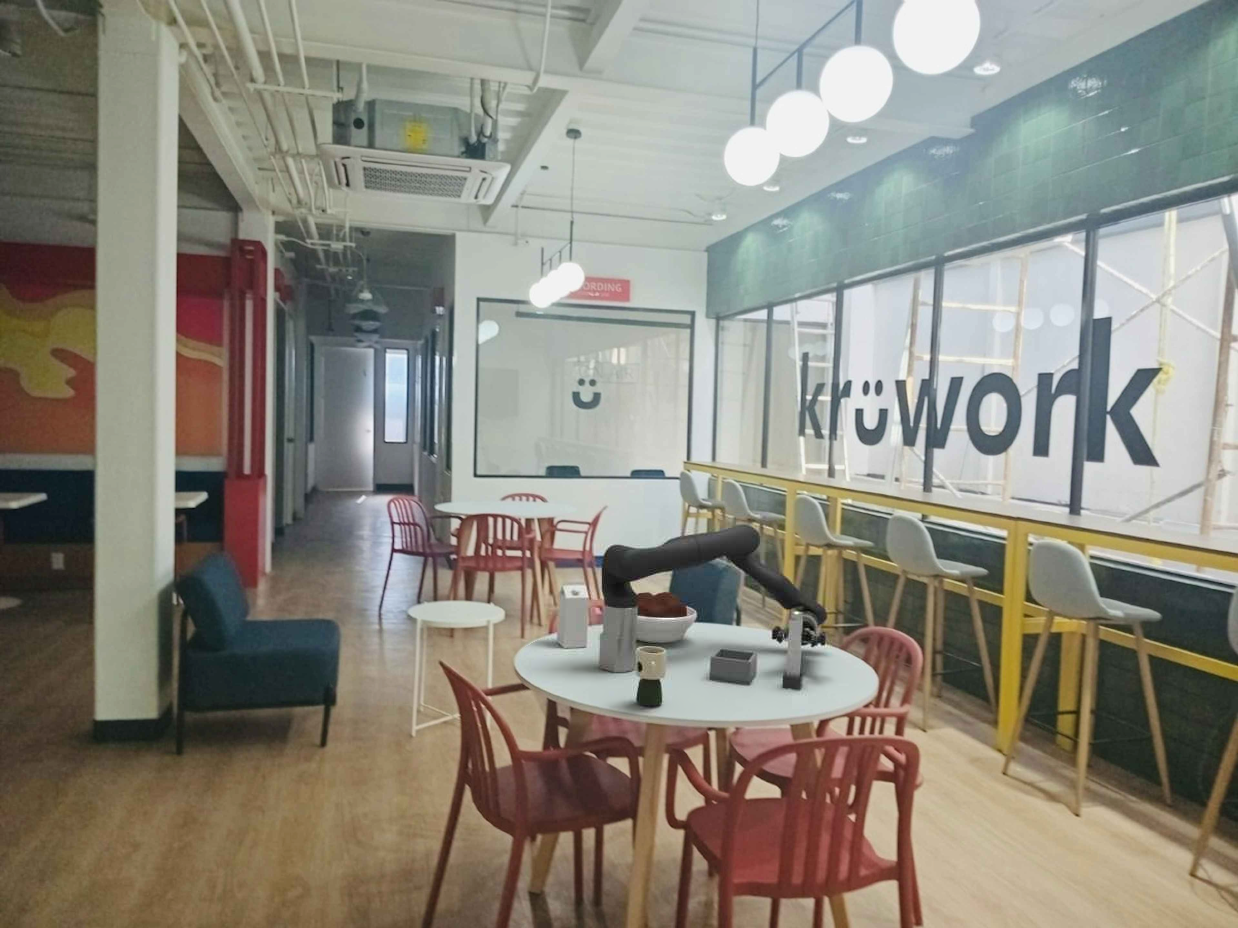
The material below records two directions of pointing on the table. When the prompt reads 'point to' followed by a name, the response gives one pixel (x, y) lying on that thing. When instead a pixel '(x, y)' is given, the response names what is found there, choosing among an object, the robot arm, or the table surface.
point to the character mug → (650, 674)
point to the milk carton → (573, 615)
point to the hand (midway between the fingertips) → (796, 641)
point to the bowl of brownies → (662, 618)
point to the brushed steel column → (794, 652)
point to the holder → (733, 666)
